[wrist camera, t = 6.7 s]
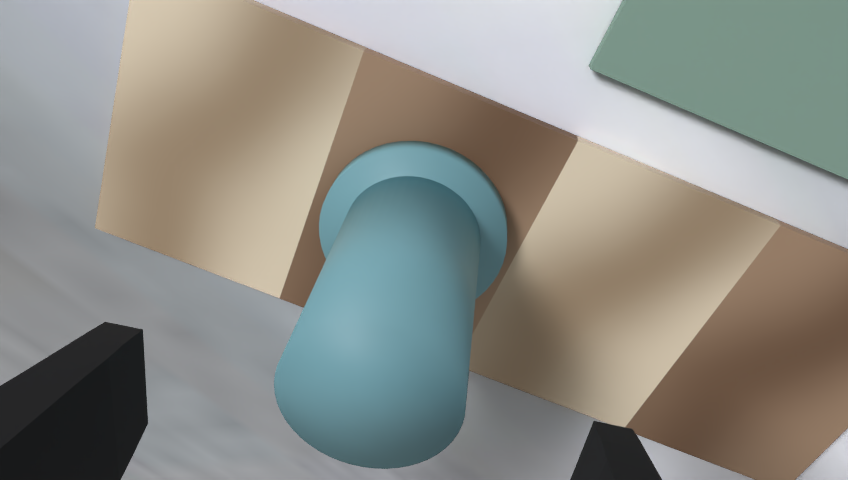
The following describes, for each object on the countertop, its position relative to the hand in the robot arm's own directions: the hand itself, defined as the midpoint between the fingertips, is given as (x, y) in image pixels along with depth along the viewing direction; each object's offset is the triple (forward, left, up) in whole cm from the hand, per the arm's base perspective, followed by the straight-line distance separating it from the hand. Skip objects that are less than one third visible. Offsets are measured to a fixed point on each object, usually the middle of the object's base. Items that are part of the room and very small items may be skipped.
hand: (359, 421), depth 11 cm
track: (-3, 0, -7) cm, 7 cm away
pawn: (0, 0, -7) cm, 7 cm away
